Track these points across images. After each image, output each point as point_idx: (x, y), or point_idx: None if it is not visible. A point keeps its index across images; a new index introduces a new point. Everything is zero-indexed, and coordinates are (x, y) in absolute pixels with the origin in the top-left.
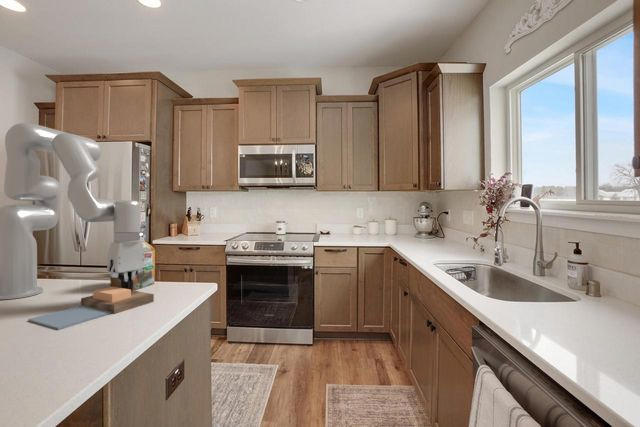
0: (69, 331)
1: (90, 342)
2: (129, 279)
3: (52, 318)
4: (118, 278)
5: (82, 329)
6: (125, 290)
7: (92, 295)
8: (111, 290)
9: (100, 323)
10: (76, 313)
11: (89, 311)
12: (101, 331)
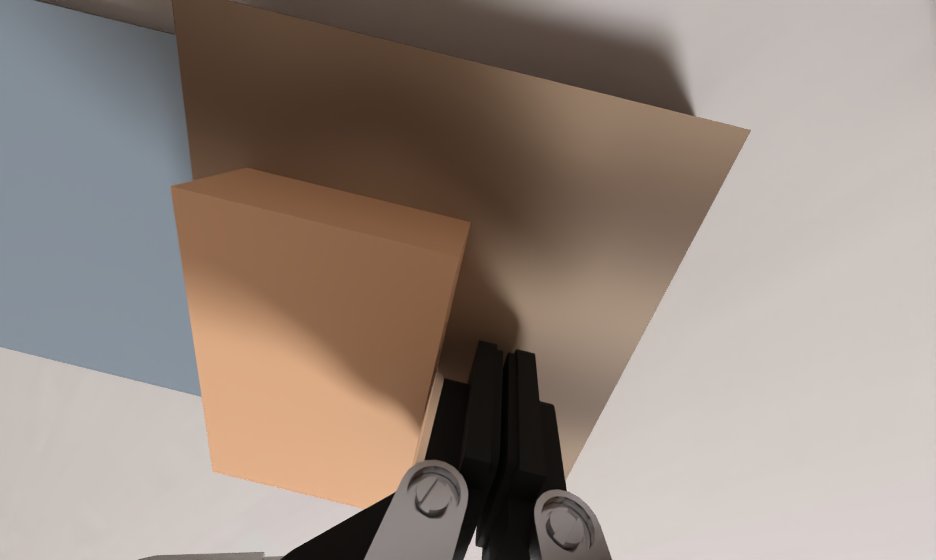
0: (15, 389)
1: (49, 514)
2: (490, 556)
3: None
4: (346, 526)
5: (65, 421)
6: (359, 493)
7: (319, 23)
8: (298, 383)
9: (148, 440)
10: (100, 224)
11: (176, 279)
12: (111, 492)
